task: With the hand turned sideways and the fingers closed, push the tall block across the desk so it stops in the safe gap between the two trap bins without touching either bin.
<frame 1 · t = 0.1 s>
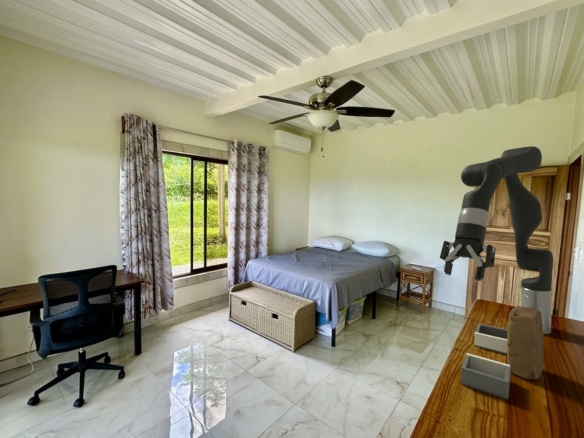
hand: (462, 277, 82), 32 cm above the table, tool tilted 20°, fingers open, 8 cm apart
block: (525, 372, 86), on the table
trap bins: (490, 361, 92), on the table
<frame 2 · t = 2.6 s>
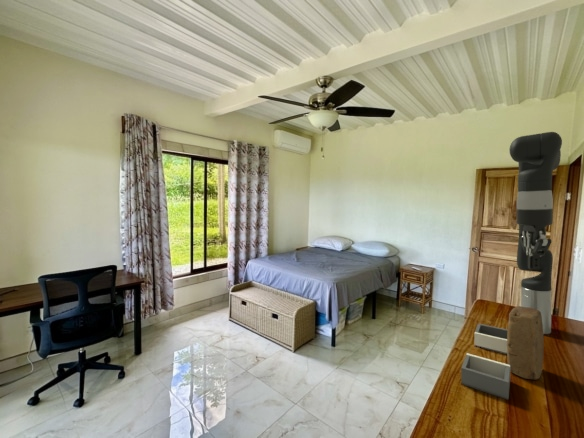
hand: (533, 269, 77), 34 cm above the table, tool pointing down, fingers closed
nothing on the table moved.
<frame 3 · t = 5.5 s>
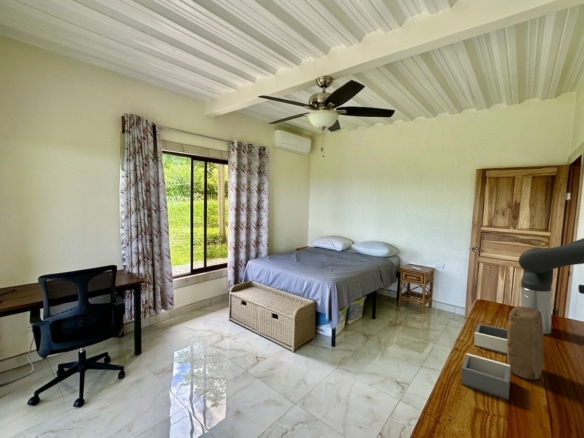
hand: (578, 288, 78), 28 cm above the table, tool horizontal, fingers closed
nothing on the table moved.
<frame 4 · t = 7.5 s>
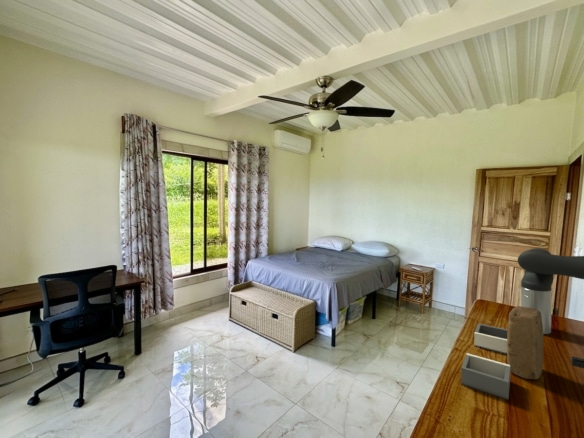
hand: (571, 360, 79), 7 cm above the table, tool horizontal, fingers closed
nothing on the table moved.
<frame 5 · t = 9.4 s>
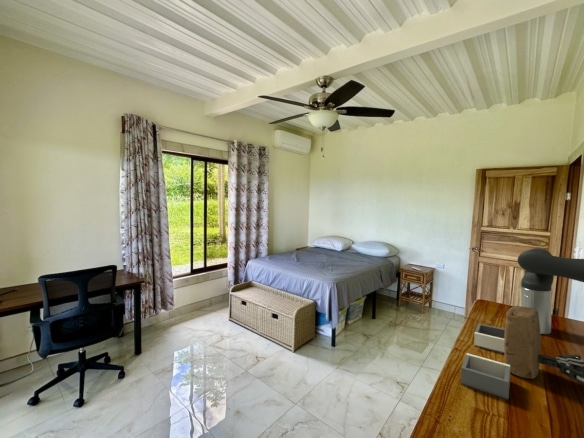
hand: (539, 358, 84), 5 cm above the table, tool horizontal, fingers closed
block: (522, 371, 87), on the table, touching gripper
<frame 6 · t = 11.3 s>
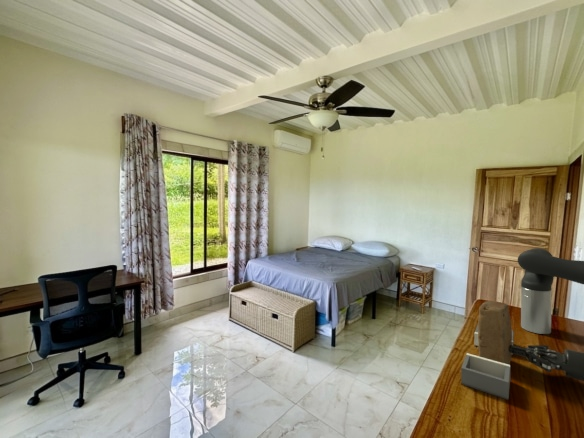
hand: (509, 348, 88), 6 cm above the table, tool horizontal, fingers closed
block: (496, 363, 91), on the table, touching gripper
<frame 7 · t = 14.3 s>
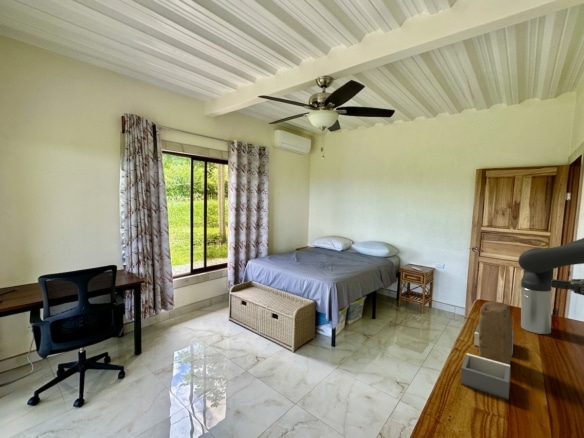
hand: (551, 283, 81), 29 cm above the table, tool horizontal, fingers closed
block: (495, 363, 91), on the table
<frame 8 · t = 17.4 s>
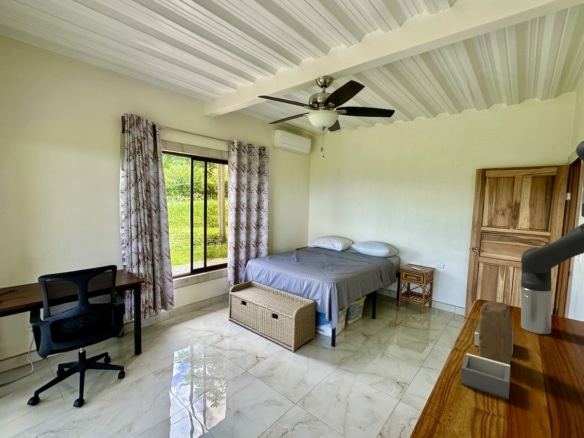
nothing on the table moved.
at the end: block inside the target area (1.5 cm from its centre), on the table; block tilted 0°; block touching table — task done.
